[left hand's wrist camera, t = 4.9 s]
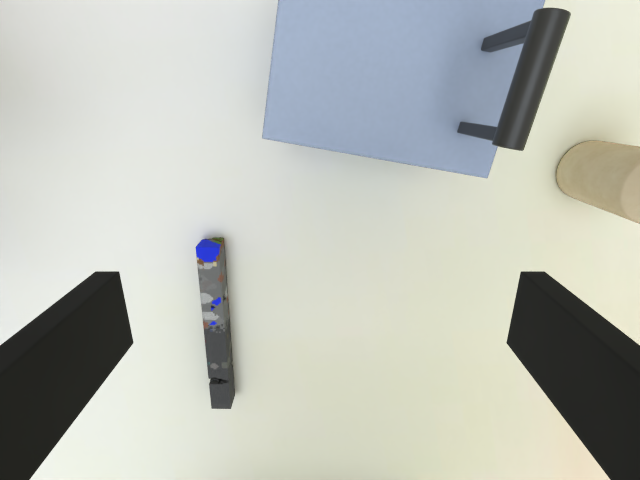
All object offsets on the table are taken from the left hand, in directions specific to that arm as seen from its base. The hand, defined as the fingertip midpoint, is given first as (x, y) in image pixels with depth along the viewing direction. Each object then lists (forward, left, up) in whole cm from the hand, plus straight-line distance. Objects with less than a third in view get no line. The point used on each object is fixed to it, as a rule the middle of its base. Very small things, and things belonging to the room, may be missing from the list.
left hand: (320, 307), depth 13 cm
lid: (+1, -9, -14) cm, 17 cm away
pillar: (-2, +20, -26) cm, 32 cm away
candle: (-20, -16, -26) cm, 36 cm away
